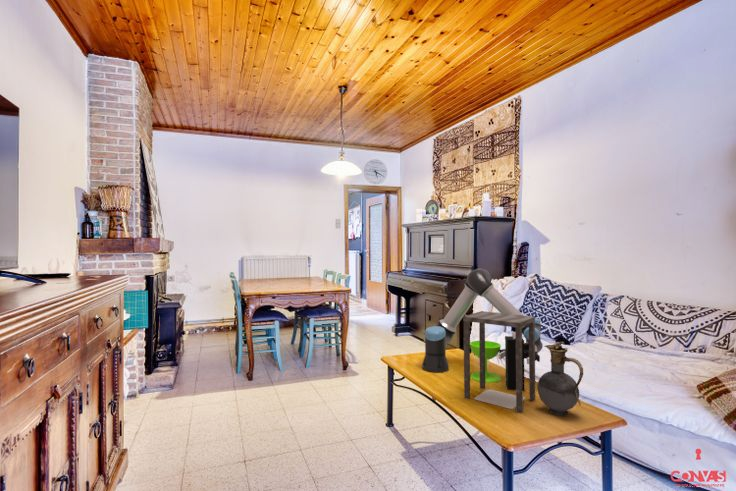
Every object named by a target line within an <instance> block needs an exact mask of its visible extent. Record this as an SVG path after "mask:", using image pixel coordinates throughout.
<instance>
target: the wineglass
mask: <svg viewBox="0 0 736 491" xmlns="http://www.w3.org/2000/svg"><path fill="white" fill-rule="evenodd" d="M501 346H502V345H501V344H500V343H499V342H496V341H495V342H494V341H489V340H485V384H486V383H488V384H493V383H498V382H500V381H501V380H502V378H501V376H500V375H499V374H497V373H494V372H491V371H488V360H492V359H494V358H495V357H497V355H499V350H501ZM470 350H471V352H472V353H473V355H474V356H476V357H477V358H478V359H480V341H479V340H474V341H470ZM470 377H471V378H472V379H471V378H470V379H471V380H473V381H475V382H479V383H480V371H474V372H472V373H470Z"/></svg>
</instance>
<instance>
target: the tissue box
mask: <svg viewBox="0 0 736 491" xmlns="http://www.w3.org/2000/svg"><path fill="white" fill-rule="evenodd" d="M504 340H505V344H504V345H505V346H504V347H505V348H504V349H505V357H504V358H505V363H504V364H505V386H506V388H507V390H510V391H516V331H513V330H512V331H511V336H510V335H505V336H504ZM524 343H525V339H524V338H523V337H522V386H523V391H524V392H525V390H526V389H525V358H524Z"/></svg>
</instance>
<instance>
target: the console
mask: <svg viewBox="0 0 736 491" xmlns="http://www.w3.org/2000/svg"><path fill="white" fill-rule="evenodd" d="M523 315H524V314H523ZM523 315H514V314H504V313H500V312H493V311H492V312H491V311H483V310H480V311H477V312H474V313H470V314H467V315H464V316H463V318H462V321H463V379H464V380H463V394H464V395H463V397H464V399H467V400H469V399H471V378H470V375H471V351H470V350H471V348H470V342H471V336H470V335H471V333H470V332H471V330H470V326H471V323H478V324H479V326H478V327H479V332H478V333H479V336H478V337H479V340H478V341H480V358H479V372H480V382H479V389H483V390H484V391H482V392H481V393H480V394H478V395H476V396H475V397H474V398H473V400H475V401H479V402H484V403H486V404H490V405H494V406H497V407H502V408H505V409H510V410H515V412H516V413H520V414H522V413H523V412H524V410H523V409H524V408H523V407H524V406H523V404H524V402H523V401H525V400H526V397H525V396H523V393H524V392H523V386H522V338H523V334H522V327H523V326H525V325H527V324H529V364H528V377H529V379H528V380H529V382H528V383H529V384H528V385H529V389H528V391H529V394H528V395H529V401H531V402H532V401H533V402H535V401H536V361H535V318H536V316H532V315H524V316H523ZM486 325H493V326H494V325H495V326H502V327H508V328H509V327H510V328H511V327H512V328H515V332H516V390H515V394H511V393H508V392H503V391H498V390H494V389H492V388H491V389H489V388H487V389H486V383H485V341H486ZM485 389H486V390H485ZM515 408H516V409H515Z"/></svg>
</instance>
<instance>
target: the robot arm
mask: <svg viewBox="0 0 736 491" xmlns="http://www.w3.org/2000/svg"><path fill="white" fill-rule="evenodd" d="M478 296H479V297H482V298H484V299H485V300H487V302H489V304H490V305H492V306H493V308H495V309H496V310H497V311H498V313H504V314H514V315H523V316H525V314H523V313H522V312H520V310H519V309H517V307H515V306H514V305H513V303H512V302H510V301H509V300H508V299H507V298H506V297H505V296H504V295H503V294H501V292H499V291H498V290H497V289H496V288H495V287H494V284H493V282H492V275H491V274H490V272H489V271H488V270H486V269H484V268H476V269H473V270H471V271H470V272H469V273H468V274H467V278H466V281H465V282H464V288H463V290H462V291H461V293H460V294H459V295H458V297H457V299H456V300H455V302H454V303H453V305H452V306H451V308H450V309H449V311H448V312H447V314H446V315H445V316H444V318H443V319H439V321H438V322H437V323H436V325H434V326H429V327H427V328H426V329H425V330H424V332H425V333H424V342H425V343H424V345H425V346H424V347H425V348H424V349H425V351H424V352H425V354H424V357H423V360H422V361H423V362H422V365H421V366H422V369H423V370H424V369H425V370H424V371H426V370H427V372H429V371H431V372H430V373H445V372H447V370H448V371H449V369H450V364H449V361H448V359H447V356H446V351H447V350H446V345H447V344H449V343H450V342H451V341H452V339H453V337H454V335H455V334H456V332H457V326H459V324H460V322H461V321H462V320H463V316H466V313H467V312H468V311H469V309H470V308H471V306H472V304H473V303H474V302H475V300H476V299H477V297H478ZM522 336H523V337H524V340H525V342H524V360H525V359H526V365H529V324H527V325H525V326H523V327H522ZM541 340H542V339H541V319H539V318H537V317H535V362H540V361H541V357H540V355H539V354H538V353H540V352H541V351H542V350H543V342H542V341H541ZM498 356H499V358H498V360H502V359H503V358H505V348H503V349H502V348H501V349H500V350H499V353H498ZM444 371H445V372H444Z"/></svg>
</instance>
